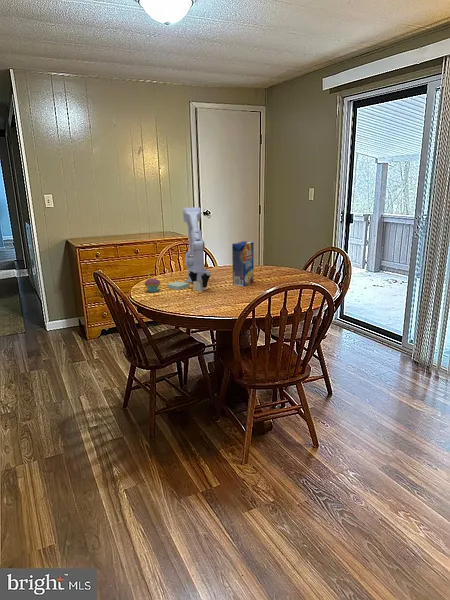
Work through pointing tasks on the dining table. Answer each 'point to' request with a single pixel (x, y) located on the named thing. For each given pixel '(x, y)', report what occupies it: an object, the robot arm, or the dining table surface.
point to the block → (198, 285)
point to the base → (178, 285)
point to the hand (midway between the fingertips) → (199, 286)
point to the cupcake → (152, 284)
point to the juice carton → (243, 263)
